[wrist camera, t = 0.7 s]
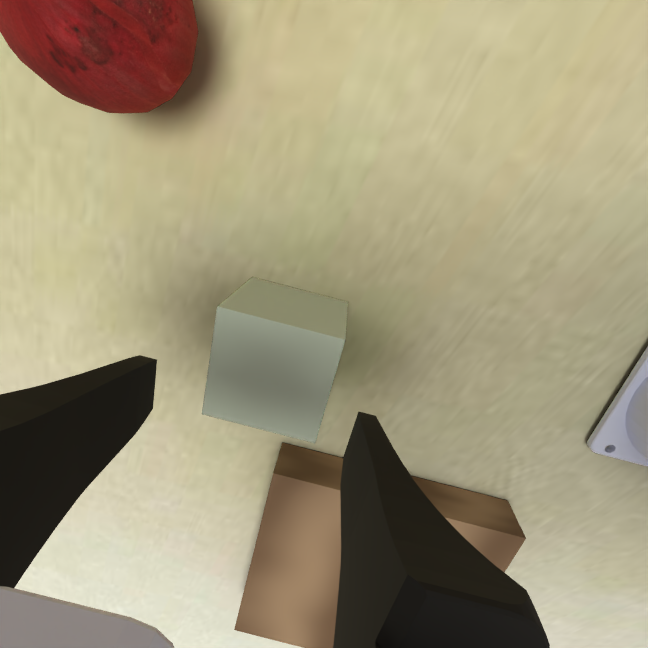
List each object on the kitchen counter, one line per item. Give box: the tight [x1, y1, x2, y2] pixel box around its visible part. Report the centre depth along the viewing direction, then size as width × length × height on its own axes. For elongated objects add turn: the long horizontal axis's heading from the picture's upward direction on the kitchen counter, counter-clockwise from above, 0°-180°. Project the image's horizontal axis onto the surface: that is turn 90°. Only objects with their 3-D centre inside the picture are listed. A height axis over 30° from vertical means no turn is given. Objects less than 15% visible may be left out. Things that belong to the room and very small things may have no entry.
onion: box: [0, 0, 198, 113], centre depth 11 cm, size 6×6×8 cm
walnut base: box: [234, 443, 526, 648], centre depth 23 cm, size 14×14×2 cm
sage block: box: [202, 277, 348, 443], centre depth 17 cm, size 5×5×5 cm
